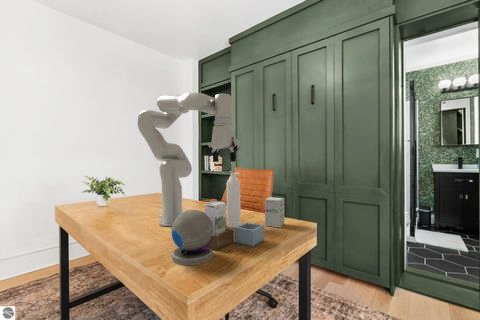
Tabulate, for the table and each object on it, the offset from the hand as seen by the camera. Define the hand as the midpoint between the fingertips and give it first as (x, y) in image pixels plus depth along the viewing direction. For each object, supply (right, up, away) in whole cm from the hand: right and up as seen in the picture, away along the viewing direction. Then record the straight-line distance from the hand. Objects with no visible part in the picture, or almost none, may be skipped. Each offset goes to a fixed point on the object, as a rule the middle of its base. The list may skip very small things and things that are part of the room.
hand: (224, 161), depth 103 cm
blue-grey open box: (+11, -30, -15) cm, 35 cm away
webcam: (-8, -31, -28) cm, 42 cm away
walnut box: (-2, -30, -16) cm, 35 cm away
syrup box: (-2, -30, -16) cm, 34 cm away
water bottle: (+5, -31, +8) cm, 32 cm away
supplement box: (+23, -30, +7) cm, 39 cm away
